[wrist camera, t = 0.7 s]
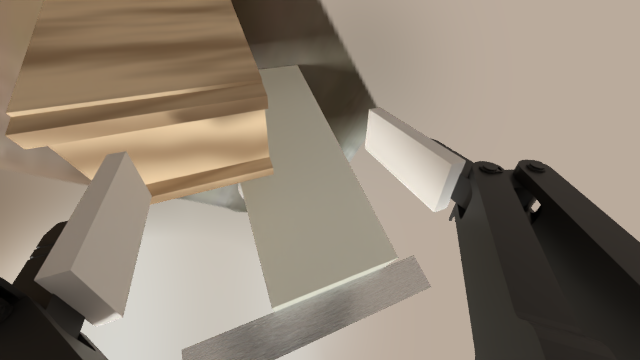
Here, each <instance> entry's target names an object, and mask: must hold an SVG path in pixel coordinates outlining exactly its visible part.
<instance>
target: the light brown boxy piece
mask: <svg viewBox="0 0 640 360" xmlns="http://www.w3.org/2000/svg"><path fill="white" fill-rule="evenodd" d="M265 109H268V97H267V93H266V91H265V88H264V86H263V83H262V78H261V75H260V73H259V70H258V68H257V65H256V63H255V60H254V58H253V55H252V53H251V50H250V48H249V45H248V43H247V40H246V38H245V35H244V33H243V30H242V28H241V25H240V23H239V20H238V17H237V15H236V12H235V10H234V7H233V5H232V2H231V0H44V1H43V4H42V7H41V10H40V13H39V16H38V19H37V22H36V25H35V28H34V31H33V34H32V37H31V40H30V43H29V46H28V49H27V52H26V55H25V58H24V61H23V64H22V67H21V70H20V73H19V76H18V79H17V82H16V84H15V87H14V90H13V93H12V96H11V99H10V102H9V105H8V108H7V111H6V114H8V115H9V116H10V117H11V118H10V122H9V125H8V128H7V131H6V134H5V136H6V137H8V138H9V139H11V140H12V141H14V142H15V143H16V144H18V145H19V146H21V147H22V148H24V149H31V148H37V147H43V146H49V147H50V148H51V149H52V150H54V151H55V152H56V153H57V154H59V155H60V156H61V157H63V158H64V159H65V160H66V161H68V162H69V163H70V164H72V165H73V166H74V167H75V168H77V169H78V170H79V171H80V172H82V173H83V174H84V175H86V176H87V177H88V178H89V179H91V180H92V179H93V178H94V176H95V174H96V173H97V171H98V169H99V167H100V166H101V164H102V162H103V161H104V159H105V157H106V155H107V154H113V153H119V152H125V151H127V153H128V155H129V157H130V158H131V160H132V162H133V164H134V165H135V167H136V169H137V171H138V173H139V174H140V176H141V178H142V180H143V181H144V183H145V185H146V187H147V188H148V190H149V192H150V194H151V195H152V198H151V202H150V205H151V204H154V203H159V202H163V201H167V200H171V199H175V198H179V197H183V196H187V195H191V194H195V193H199V192H204V191H208V190H212V189H216V188H220V187H224V186H228V185H232V184H236V183H240V182H244V181H248V180H252V179H256V178H261V177H265V176H269V175H273V174H274V172H273V166H272V163H271V160H270V157H269V147H268V137H267V126H266V116H265Z"/></svg>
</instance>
